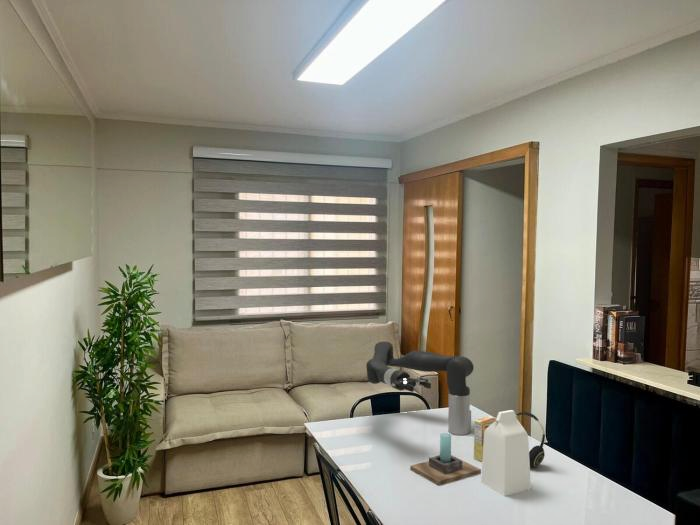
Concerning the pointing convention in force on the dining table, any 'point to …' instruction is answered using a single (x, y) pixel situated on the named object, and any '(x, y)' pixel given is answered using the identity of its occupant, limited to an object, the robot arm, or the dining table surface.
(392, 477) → the dining table surface
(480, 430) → the candy box
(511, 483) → the milk
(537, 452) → the headphones
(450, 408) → the robot arm
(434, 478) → the wooden peg socket board
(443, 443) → the teal peg
